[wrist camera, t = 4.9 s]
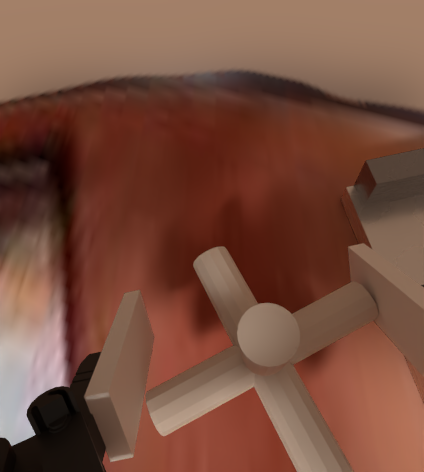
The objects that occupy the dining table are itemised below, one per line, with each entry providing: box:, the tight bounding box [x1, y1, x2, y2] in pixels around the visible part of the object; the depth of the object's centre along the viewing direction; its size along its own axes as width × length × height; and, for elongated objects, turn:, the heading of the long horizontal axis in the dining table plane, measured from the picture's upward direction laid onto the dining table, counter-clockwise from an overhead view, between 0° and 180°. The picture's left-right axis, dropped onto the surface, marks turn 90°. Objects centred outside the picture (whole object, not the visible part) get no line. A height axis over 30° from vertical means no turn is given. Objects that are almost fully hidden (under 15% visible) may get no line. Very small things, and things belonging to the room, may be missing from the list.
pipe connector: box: [146, 246, 379, 472], centre depth 15 cm, size 10×10×10 cm
